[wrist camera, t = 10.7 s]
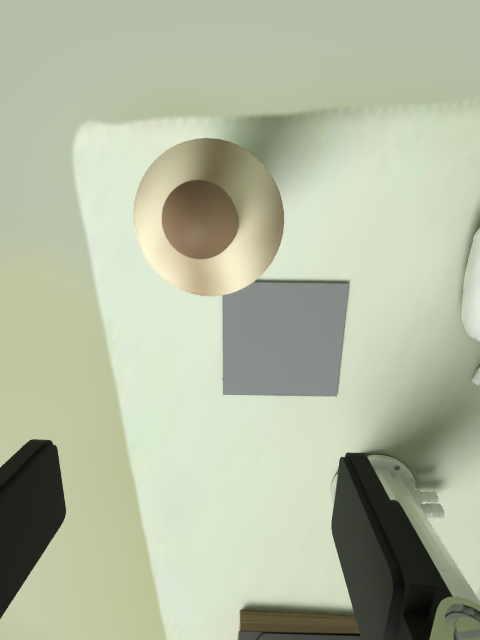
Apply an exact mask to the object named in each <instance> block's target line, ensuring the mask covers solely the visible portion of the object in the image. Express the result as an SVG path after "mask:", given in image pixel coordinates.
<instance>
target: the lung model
mask: <svg viewBox="0 0 480 640" xmlns="http://www.w3.org/2000/svg"><path fill="white" fill-rule="evenodd" d="M461 319H462V322H463V325H464V327H465V330H466V333H467V335H469V336H470V337H472V338H474V339H476V340H477V341H479V342H480V228H479V229H478V230H477V231H476V233H475V234H474V238H473V242H472V246H471V250H470V254H469V259H468V263H467V267H466V271H465V275H464V285H463V296H462V308H461ZM472 382H473V383H475V384H476V385H480V366H479V369H478V370H477V371H476V373H475V375H474V377H473V379H472Z"/></svg>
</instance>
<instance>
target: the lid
mask: <svg viewBox="0 0 480 640" xmlns="http://www.w3.org/2000/svg"><path fill="white" fill-rule="evenodd" d="M134 226H135V233H136V236H137V240H138V243H139V246H140V248H141V250H142V253H143V254H144V256H145V258H146V260H147V261H148V262H149V264H150V265H151V267H152V268H153V269H154V270H155V271H156V272H157V273H158V274H159V275H160V276H161V277H162V278H163V279H164V280H166V281H167V282H168V283H170V284H171V285H173V286H175V287H177V288H179V289H181V290H183V291H185V292H189V293H192V294H196V295H201V296H220V295H226V294H230V293H233V292H236V291H239V290H241V289H243V288H245V287H247V286H248V285H250V284H251V283H253V282H254V281H255V280H256V279H258V278H259V277H260V276H261V275H262V274H263V273H264V272H265V271H266V269H267V268H268V267H269V265H270V264H271V262H272V261H273V259H274V257H275V255H276V253H277V251H278V249H279V246H280V243H281V239H282V235H283V227H284V211H283V204H282V199H281V196H280V192H279V190H278V187H277V185H276V183H275V181H274V179H273V177H272V176H271V174H270V172H269V171H268V170H267V168H266V167H265V166H264V165H263V164H262V163H261V162H260V161H259V160H258V159H257V158H256V157H255V156H254V155H253V154H251V153H250V152H249V151H247V150H246V149H244V148H242V147H240V146H238V145H236V144H233V143H231V142H228V141H224V140H220V139H211V138H203V139H194V140H189V141H185V142H183V143H180V144H178V145H175V146H174V147H172V148H170V149H168V150H167V151H166V152H164V153H163V154H162V155H160V156H159V157H158V158H157V159H156V160H155V161H154V162H153V163H152V164H151V166H150V167H149V169H148V170H147V171H146V173H145V175H144V176H143V178H142V180H141V182H140V185H139V188H138V190H137V194H136V198H135V203H134Z"/></svg>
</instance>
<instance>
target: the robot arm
mask: <svg viewBox="0 0 480 640" xmlns="http://www.w3.org/2000/svg"><path fill="white" fill-rule="evenodd" d="M62 486H63V485H62V479H61V471H60V464H59V457H58V450H57V447H56V445H53V443H52V441H50V440H35V439H33V440H30V441H29V442H27V443H26V444H25V445H24V446H23V447H22V448H21V449H20V450H19V451H18V452H16V453H15V454H14V455H13V456H12V457H11V458H10V459H9V460H8V461H7V462H6V463H5V464H4V465H2V467H0V619H1V617H2V615H3V614H4V612H5V611H6V609H7V608H8V606H9V604H10V603H11V601H12V600H13V599H14V597H15V595H16V594H17V592H18V591H19V589H20V588H21V586H22V585H23V583H24V582H25V580H26V579H27V577H28V575H29V574H30V572H31V571H32V569H33V568H34V566H35V565H36V563H37V562H38V560H39V559H40V557H41V555H42V554H43V552H44V551H45V549H46V548H47V546H48V545H49V543H50V542H51V540H52V539H53V537H54V535H55V534H56V532H57V531H58V529H59V528H60V526H61V525H62V523H63V521H64V518H65V515H66V507H65V500H64V493H63V487H62ZM331 496H332V500H333V503H334V508H333V515H332V534H333V538H334V542H335V546H336V549H337V553H338V556H339V560H340V563H341V567H342V571H343V574H344V578H345V581H346V585H347V588H348V592H349V596H350V599H351V603H352V606H353V610H354V613H355V617H356V621H357V624H358V628H359V631H360V635H361V639H362V640H480V601H479V600H478V598H477V596H476V595H475V593H474V591H473V590H472V588H471V587H470V585H469V584H468V582H467V581H466V579H465V577H464V576H463V574H462V573H461V571H460V570H459V568H458V566H457V565H456V563H455V562H454V560H453V558H452V557H451V555H450V554H449V552H448V551H447V549H446V547H445V546H444V544H443V543H442V541H441V539H440V538H439V536H438V535H437V533H436V532H435V530H434V528H433V527H432V525H431V524H430V522H429V520H428V519H427V517H429V518H444V510H443V508H442V506H441V505H440V504H438V503H426V504H422V502H438V496H437V494H436V493H435V492H420V491H419V490H417V489H416V484H415V480H414V478H413V476H412V474H411V472H410V471H409V470H408V468H407V467H406V466H405V465H404V464H403V463H402V462H400V461H398V460H397V459H395V458H392V457H389V456H384V455H368V456H367V455H366V454H364V453H346V455H345V457H341V458H340V461H339V469H338V473H337V474H336V476H335V478H334V480H333V482H332V487H331Z"/></svg>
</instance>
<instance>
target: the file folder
mask: <svg viewBox="0 0 480 640" xmlns="http://www.w3.org/2000/svg"><path fill="white" fill-rule="evenodd" d="M238 640H362V639H361V635H360V631H359V628H358V624H357V621H356V617H355V616H340V615H322V614H304V613H280V612H255V611H240V624H239V631H238Z"/></svg>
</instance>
